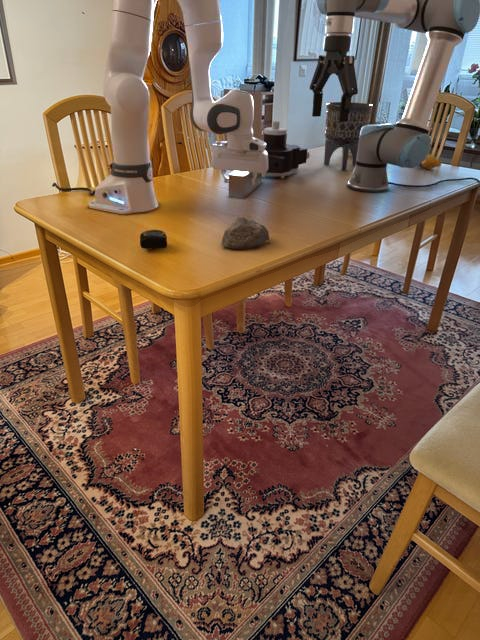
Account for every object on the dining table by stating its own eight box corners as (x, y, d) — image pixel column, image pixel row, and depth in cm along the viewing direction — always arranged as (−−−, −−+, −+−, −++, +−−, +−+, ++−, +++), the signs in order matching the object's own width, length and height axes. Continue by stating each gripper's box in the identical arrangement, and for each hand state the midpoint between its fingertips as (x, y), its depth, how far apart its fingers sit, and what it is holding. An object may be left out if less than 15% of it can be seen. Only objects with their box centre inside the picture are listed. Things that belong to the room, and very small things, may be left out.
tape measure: (140, 252, 115) (139, 238, 113) (141, 242, 120) (140, 229, 119) (167, 251, 116) (166, 237, 114) (167, 241, 121) (166, 228, 120)
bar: (247, 181, 182) (248, 161, 178) (261, 183, 181) (262, 162, 177) (228, 197, 162) (228, 174, 158) (243, 198, 161) (244, 176, 157)
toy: (415, 162, 205) (409, 155, 218) (417, 175, 208) (411, 168, 221) (441, 154, 202) (433, 147, 215) (443, 168, 205) (435, 160, 218)
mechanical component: (240, 120, 182) (283, 115, 202) (239, 174, 192) (280, 164, 212) (283, 126, 170) (325, 120, 190) (280, 183, 180) (320, 171, 200)
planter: (313, 167, 208) (319, 103, 195) (331, 160, 222) (338, 101, 209) (353, 173, 199) (362, 107, 185) (369, 166, 213) (379, 104, 199)
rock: (255, 233, 128) (256, 211, 124) (276, 242, 122) (278, 219, 119) (217, 244, 120) (217, 220, 117) (239, 254, 115) (239, 230, 111)
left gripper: (208, 142, 155) (208, 183, 162) (266, 146, 150) (264, 188, 157) (214, 139, 160) (214, 179, 167) (270, 143, 155) (268, 184, 162)
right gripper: (302, 35, 133) (296, 114, 144) (356, 33, 114) (344, 124, 124) (323, 36, 136) (316, 114, 147) (379, 34, 117) (366, 123, 127)
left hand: (239, 183), depth 162 cm, fingers open, 8 cm apart
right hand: (329, 119), depth 136 cm, fingers open, 13 cm apart
